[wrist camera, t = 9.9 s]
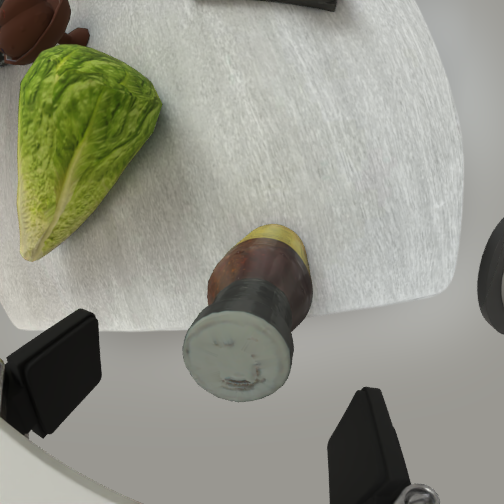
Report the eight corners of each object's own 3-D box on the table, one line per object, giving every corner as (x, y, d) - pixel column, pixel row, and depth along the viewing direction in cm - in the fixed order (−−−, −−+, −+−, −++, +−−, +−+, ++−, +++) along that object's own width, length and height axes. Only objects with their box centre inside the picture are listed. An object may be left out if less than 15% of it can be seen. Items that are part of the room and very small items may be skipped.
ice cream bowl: (50, 35, 27) (-17, 9, 12) (108, 0, 25) (42, -45, 10) (45, 91, 29) (-35, 74, 14) (105, 57, 27) (21, 17, 12)
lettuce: (102, 278, 34) (43, 212, 35) (197, 100, 26) (113, 55, 27) (13, 321, 21) (-37, 230, 22) (95, 54, 12) (23, 23, 14)
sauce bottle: (287, 293, 30) (265, 449, 11) (232, 265, 30) (135, 387, 11) (318, 237, 28) (356, 342, 9) (260, 207, 28) (184, 255, 9)
